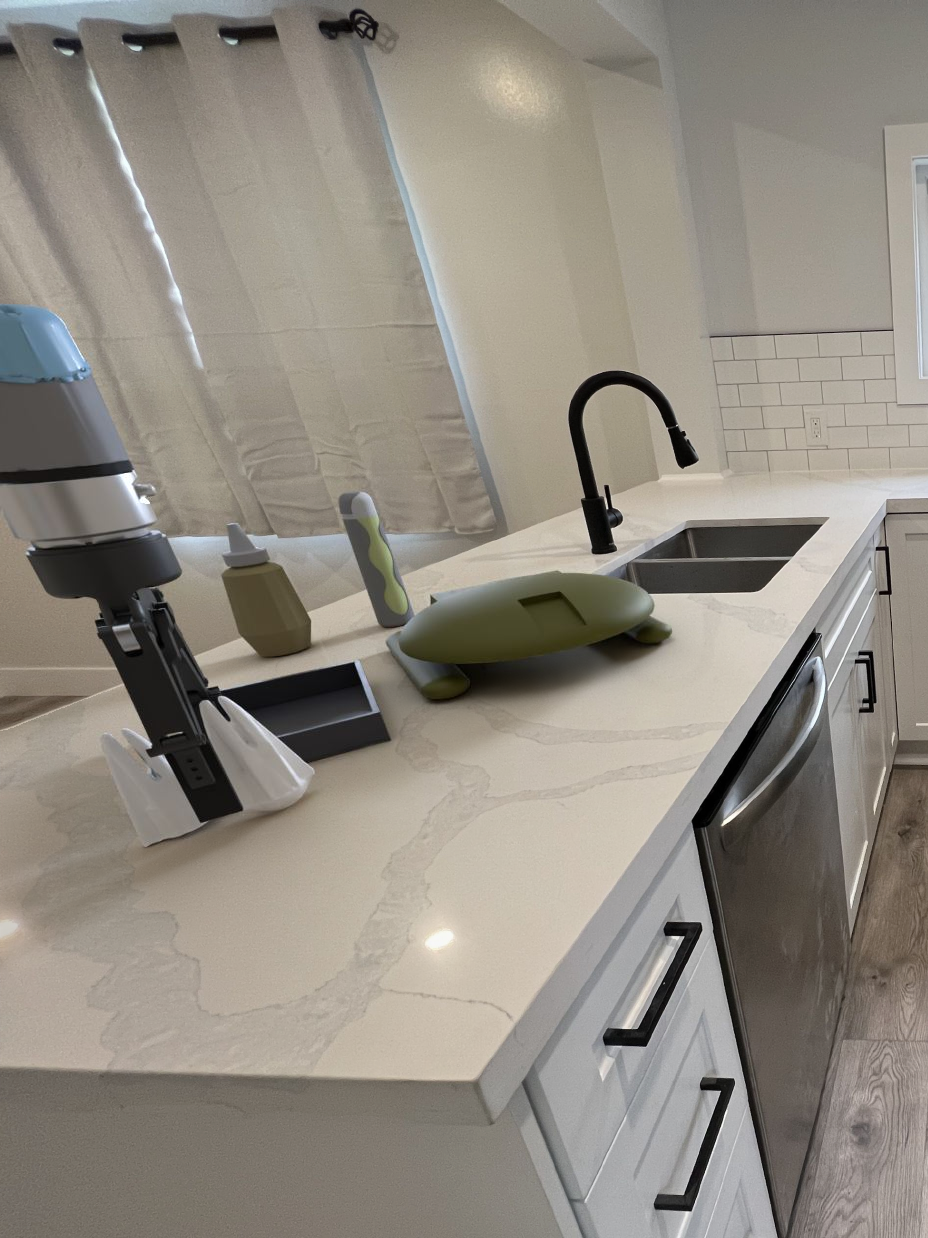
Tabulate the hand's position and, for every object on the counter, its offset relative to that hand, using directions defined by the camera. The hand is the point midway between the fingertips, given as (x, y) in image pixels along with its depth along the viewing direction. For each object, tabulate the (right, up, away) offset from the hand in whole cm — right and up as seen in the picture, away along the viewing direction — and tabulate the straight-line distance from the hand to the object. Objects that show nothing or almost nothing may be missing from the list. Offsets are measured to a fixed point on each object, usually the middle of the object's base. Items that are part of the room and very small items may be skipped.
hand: (223, 791), depth 66 cm
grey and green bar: (-22, +20, +52) cm, 60 cm away
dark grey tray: (-9, +5, +17) cm, 20 cm away
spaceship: (+7, +15, +39) cm, 42 cm away
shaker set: (0, -3, +1) cm, 3 cm away
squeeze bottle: (-31, +15, +42) cm, 54 cm away
